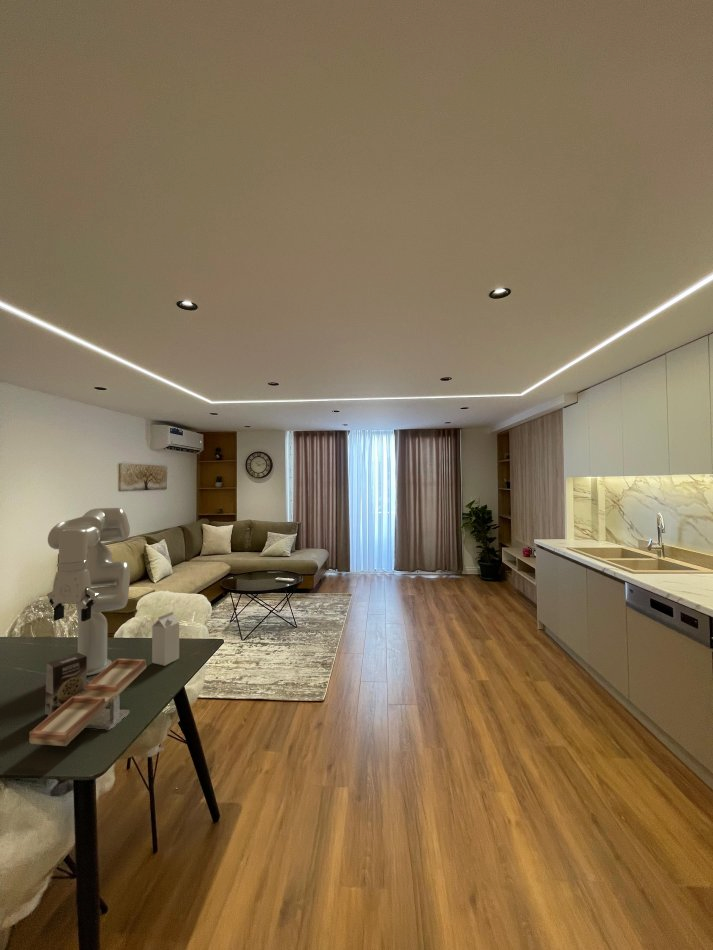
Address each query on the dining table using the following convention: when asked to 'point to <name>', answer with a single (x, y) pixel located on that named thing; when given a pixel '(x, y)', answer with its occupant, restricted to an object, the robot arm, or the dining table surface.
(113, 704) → the seesaw stand
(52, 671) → the coffee box
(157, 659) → the milk carton
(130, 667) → the seesaw beam
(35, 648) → the dining table surface
